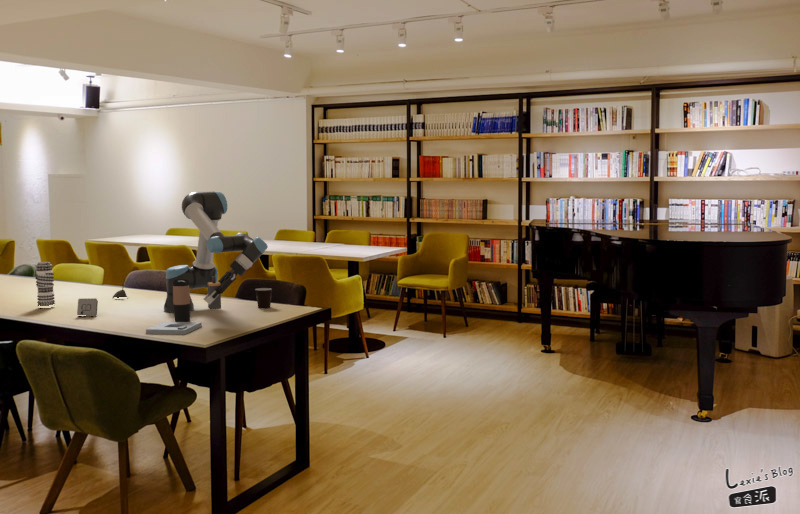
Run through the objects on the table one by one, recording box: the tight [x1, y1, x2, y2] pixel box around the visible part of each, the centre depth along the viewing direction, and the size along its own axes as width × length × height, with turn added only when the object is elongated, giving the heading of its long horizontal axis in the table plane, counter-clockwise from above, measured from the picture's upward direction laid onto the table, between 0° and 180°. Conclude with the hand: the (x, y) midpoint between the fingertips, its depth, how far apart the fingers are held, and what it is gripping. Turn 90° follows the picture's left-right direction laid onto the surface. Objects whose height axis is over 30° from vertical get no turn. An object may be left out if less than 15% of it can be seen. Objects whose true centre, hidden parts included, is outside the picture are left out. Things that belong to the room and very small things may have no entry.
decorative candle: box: [34, 261, 56, 307], centre depth 385 cm, size 9×9×25 cm
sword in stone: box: [112, 278, 128, 298], centre depth 417 cm, size 10×8×12 cm
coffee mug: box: [255, 287, 273, 309], centre depth 380 cm, size 12×9×10 cm
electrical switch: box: [76, 297, 99, 317], centre depth 359 cm, size 9×5×9 cm, turn 90°
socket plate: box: [145, 321, 202, 336], centre depth 321 cm, size 18×18×3 cm
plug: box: [207, 276, 222, 310], centre depth 330 cm, size 5×5×15 cm
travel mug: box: [173, 279, 191, 322], centre depth 341 cm, size 8×8×20 cm
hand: (206, 301), depth 329 cm, fingers closed on plug, 5 cm apart
